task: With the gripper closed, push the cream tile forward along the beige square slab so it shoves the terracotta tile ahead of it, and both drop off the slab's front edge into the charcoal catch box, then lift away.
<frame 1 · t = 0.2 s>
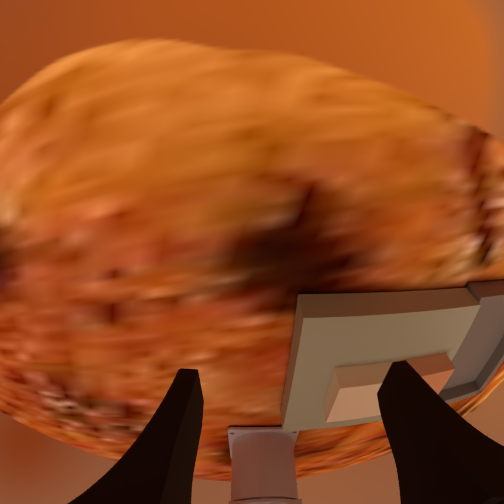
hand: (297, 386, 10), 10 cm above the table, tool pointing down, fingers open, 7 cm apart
terracotta tile: (413, 375, 22), point 2 cm above the table, touching beige square slab
catch box: (473, 343, 24), on the table
beige square slab: (371, 360, 24), on the table
cream tile: (357, 384, 21), point 2 cm above the table, touching beige square slab
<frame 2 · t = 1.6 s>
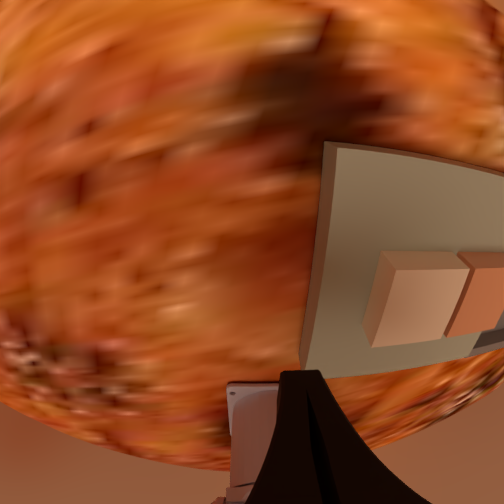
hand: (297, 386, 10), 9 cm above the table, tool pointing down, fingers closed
terracotta tile: (471, 285, 16), point 2 cm above the table, touching beige square slab
beige square slab: (416, 267, 18), on the table
cream tile: (408, 289, 16), point 2 cm above the table, touching beige square slab
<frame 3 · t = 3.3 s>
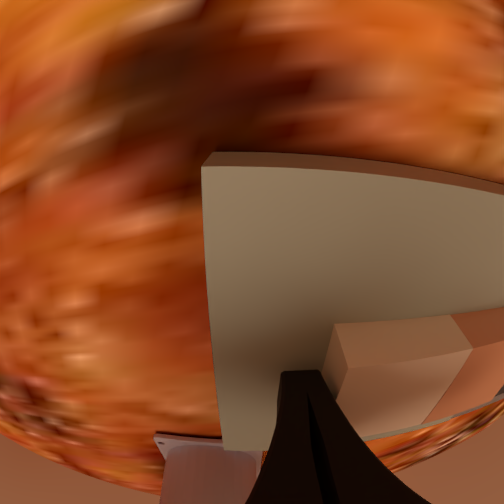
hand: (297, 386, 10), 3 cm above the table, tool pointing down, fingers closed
terracotta tile: (466, 351, 11), point 3 cm above the table, touching beige square slab
beige square slab: (380, 325, 13), on the table
cream tile: (379, 365, 11), point 2 cm above the table, touching beige square slab
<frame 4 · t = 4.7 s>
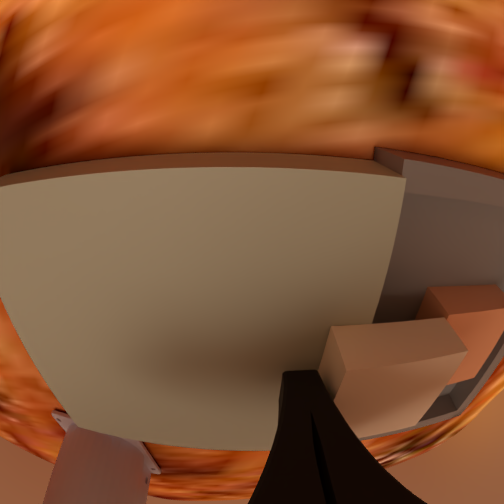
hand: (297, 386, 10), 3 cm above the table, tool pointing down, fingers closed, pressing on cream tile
terracotta tile: (447, 326, 13), point 1 cm above the table, touching catch box
catch box: (436, 320, 13), on the table
beige square slab: (175, 327, 13), on the table
cream tile: (374, 367, 11), point 2 cm above the table, touching beige square slab, gripper
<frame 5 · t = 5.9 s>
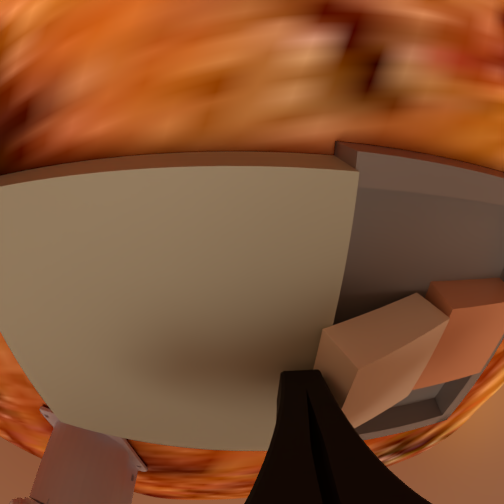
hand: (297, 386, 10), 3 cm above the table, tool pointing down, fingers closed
terracotta tile: (451, 321, 12), point 1 cm above the table, touching catch box, cream tile
catch box: (415, 322, 13), on the table
beige square slab: (144, 325, 13), on the table
cream tile: (361, 355, 11), point 2 cm above the table, tilted 22°, touching beige square slab, terracotta tile
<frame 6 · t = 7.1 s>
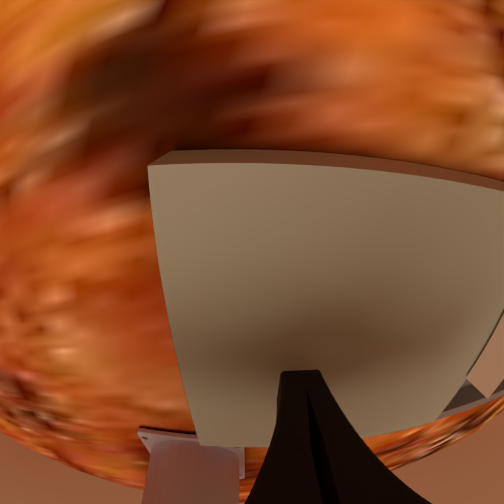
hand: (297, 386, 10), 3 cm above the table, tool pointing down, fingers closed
beige square slab: (352, 323, 13), on the table
cream tile: (502, 328, 12), point 2 cm above the table, tilted 22°, touching beige square slab, terracotta tile
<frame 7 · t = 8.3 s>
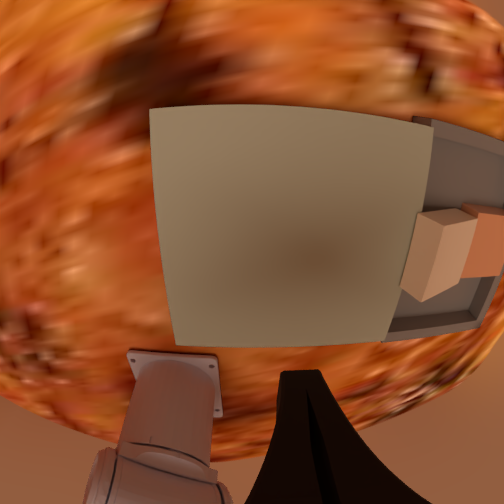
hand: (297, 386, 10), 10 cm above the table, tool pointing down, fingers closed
terracotta tile: (476, 235, 18), point 1 cm above the table, touching catch box, cream tile
catch box: (454, 235, 19), on the table
beige square slab: (289, 230, 19), on the table
cream tile: (430, 245, 17), point 2 cm above the table, tilted 22°, touching beige square slab, terracotta tile
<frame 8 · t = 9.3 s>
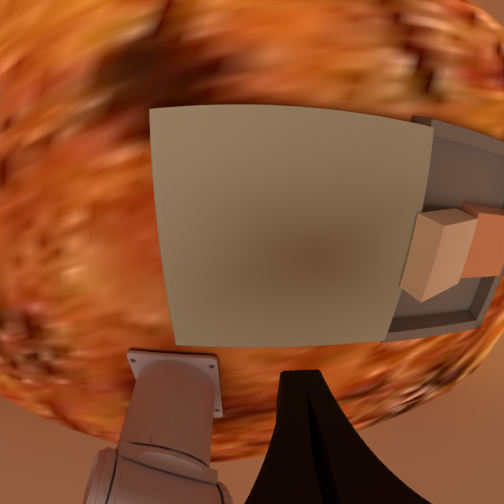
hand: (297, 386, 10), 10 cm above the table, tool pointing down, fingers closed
terracotta tile: (476, 235, 18), point 1 cm above the table, touching catch box, cream tile
catch box: (454, 235, 19), on the table
beige square slab: (289, 230, 19), on the table
cream tile: (430, 245, 17), point 2 cm above the table, tilted 22°, touching beige square slab, terracotta tile
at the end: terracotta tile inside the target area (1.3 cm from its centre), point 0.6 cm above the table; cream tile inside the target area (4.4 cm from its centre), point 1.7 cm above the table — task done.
